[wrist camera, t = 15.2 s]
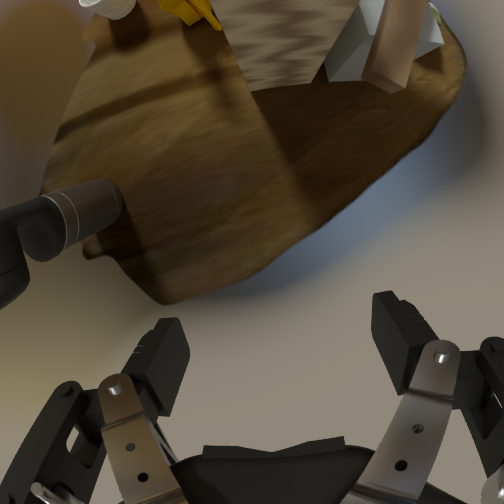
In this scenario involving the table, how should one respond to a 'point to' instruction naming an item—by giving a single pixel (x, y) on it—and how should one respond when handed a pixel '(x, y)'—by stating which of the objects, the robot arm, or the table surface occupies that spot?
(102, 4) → the white cup
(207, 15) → the figure statuette
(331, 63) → the grey block
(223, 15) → the oak stand
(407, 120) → the table surface
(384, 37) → the brown block
